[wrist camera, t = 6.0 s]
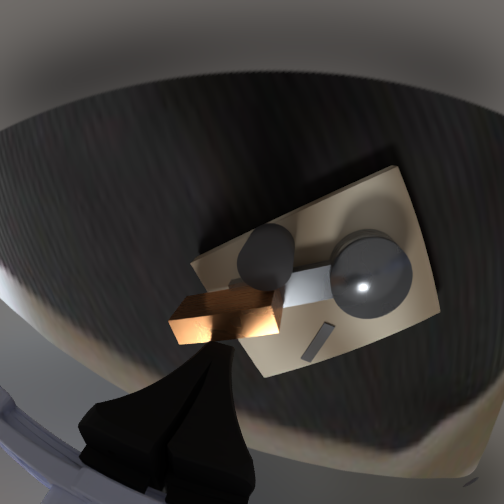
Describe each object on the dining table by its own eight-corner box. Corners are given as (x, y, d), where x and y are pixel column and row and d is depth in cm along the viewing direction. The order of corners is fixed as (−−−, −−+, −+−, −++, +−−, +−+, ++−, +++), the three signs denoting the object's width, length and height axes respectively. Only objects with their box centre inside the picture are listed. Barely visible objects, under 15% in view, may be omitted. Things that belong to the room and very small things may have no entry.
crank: (397, 221, 13) (422, 243, 10) (404, 291, 14) (423, 326, 11) (184, 268, 16) (157, 297, 13) (208, 327, 17) (189, 364, 14)
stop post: (281, 215, 14) (277, 229, 12) (302, 256, 15) (302, 278, 12) (239, 235, 15) (226, 252, 12) (261, 274, 15) (253, 298, 13)
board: (391, 165, 13) (398, 166, 12) (434, 303, 15) (440, 312, 14) (196, 256, 17) (189, 264, 16) (266, 368, 19) (264, 378, 18)
